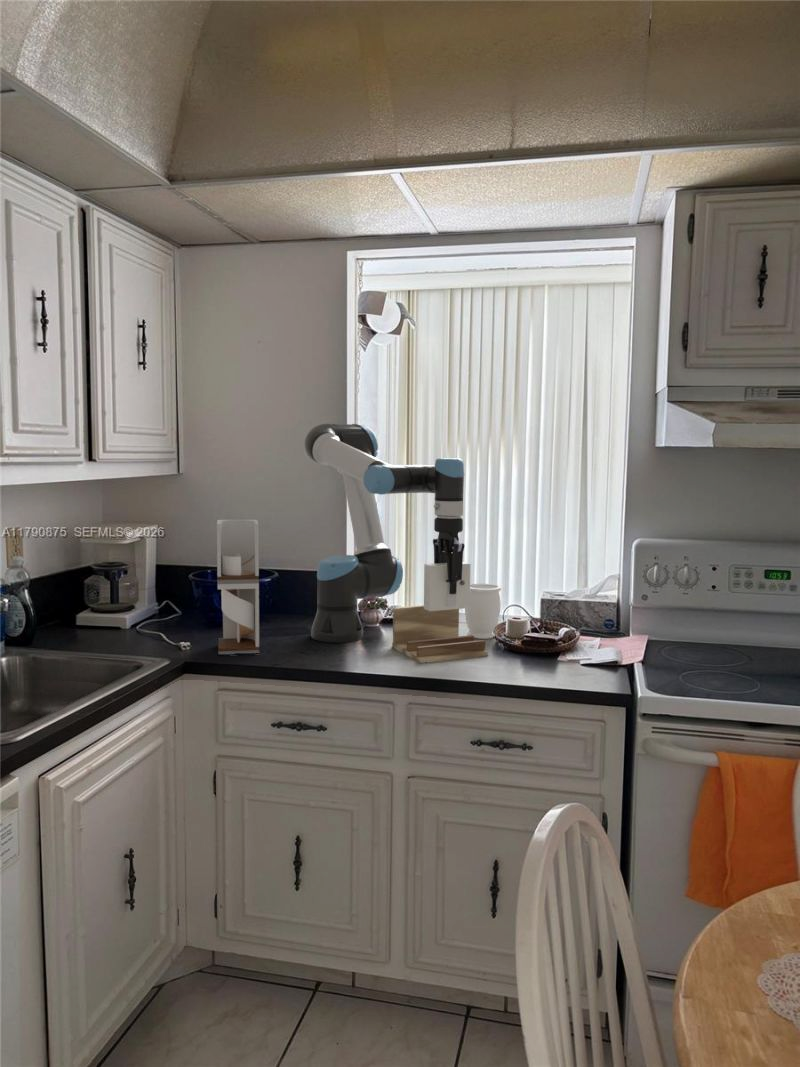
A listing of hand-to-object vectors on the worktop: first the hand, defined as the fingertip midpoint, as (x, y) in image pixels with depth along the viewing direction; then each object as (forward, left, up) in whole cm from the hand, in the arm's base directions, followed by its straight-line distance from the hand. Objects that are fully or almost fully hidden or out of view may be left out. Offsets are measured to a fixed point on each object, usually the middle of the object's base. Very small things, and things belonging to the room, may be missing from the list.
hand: (447, 604), depth 213 cm
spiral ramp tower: (-26, -50, -14) cm, 58 cm away
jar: (-15, +20, -14) cm, 29 cm away
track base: (-4, 0, -14) cm, 14 cm away
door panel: (0, 0, -1) cm, 1 cm away
